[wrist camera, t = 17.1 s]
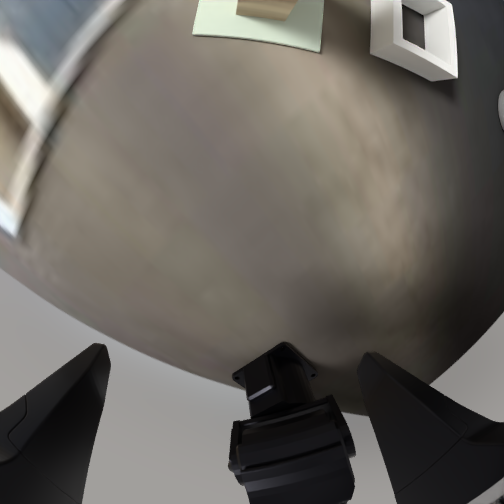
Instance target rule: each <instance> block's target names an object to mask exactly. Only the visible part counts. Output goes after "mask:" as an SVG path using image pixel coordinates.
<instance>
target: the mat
mask: <svg viewBox="0 0 504 504" xmlns="http://www.w3.org/2000/svg"><path fill="white" fill-rule="evenodd" d="M237 2H238V0H200V1H199V5H198V9H197V14H196V18H195V23H194V28H193V33H192V35H198V36H217V37H230V38H240V39H248V40H256V41H263V42H269V43H275V44H281V45H286V46H291V47H296V48H300V49H305V50H309V51H313V52H317V53H319V52H320V44H321V33H322V22H323V9H324V0H298V1H297V3H296V4H295V6H294V8H293V9H292V11H291V12H290V14H289V16H288V17H287V19H286V21H280V20H274V19H268V18H261V17H254V16H245V15H236V9H237Z"/></svg>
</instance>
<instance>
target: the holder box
mask: <svg viewBox="0 0 504 504" xmlns="http://www.w3.org/2000/svg"><path fill="white" fill-rule="evenodd" d="M402 4H403V5H405V6H407V7H409V8H411V9H413V10H415V11H417V12H418V13H420V14H422V15H424V28H425V50H424V49H422V48H420V47H418V46H416V45H414V44H412V43H410V42H408V41H406V40H404V39H403V26H402ZM370 54H372V55H374V56H377V57H379V58H382V59H384V60H387V61H389V62H391V63H394V64H396V65H398V66H401V67H403V68H405V69H407V70H409V71H411V72H413V73H416V74H418V75H420V76H422V77H424V78H426V79H427V80H429V81H431V82H432V81H439V80H447V79H455V78H458V68H457V46H456V34H455V24H454V16H453V9H452V4H450V3H449V2H447V1H446V0H371V39H370Z"/></svg>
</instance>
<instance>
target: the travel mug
mask: <svg viewBox="0 0 504 504" xmlns="http://www.w3.org/2000/svg"><path fill="white" fill-rule="evenodd" d="M498 113H499V118H500V122H501V126H502V128H503V130H504V90H503V91H502V92H501V93H500V95H499V100H498Z"/></svg>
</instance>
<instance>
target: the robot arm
mask: <svg viewBox="0 0 504 504" xmlns="http://www.w3.org/2000/svg"><path fill="white" fill-rule="evenodd" d="M282 347H284V348H282ZM110 368H111V363H110V358H109V354H108V350H107V347H106V345H104V344H99V343H94V344H92V345H91V346H89V347H88V348H87V349H85V350H84V351H82V352H81V353H80V354H79V355H77V356H76V357H74V358H73V359H72V360H70V361H69V362H68V363H66V364H65V365H63V366H62V367H61V368H59V369H58V370H57V371H55V372H54V373H53V374H51V375H50V376H49V377H47V378H46V379H45V380H43V381H42V382H41V383H39V384H38V385H37V386H36V387H34V388H33V389H32V390H30V391H29V392H27V393H26V395H24V396H22V397H21V398H20V399H18V400H17V401H15V402H14V403H13V404H11V405H10V406H9V407H7V408H6V409H4V410H2V411H1V412H0V504H82V499H83V494H84V488H85V482H86V477H87V472H88V467H89V463H90V458H91V454H92V450H93V445H94V441H95V437H96V433H97V429H98V426H99V422H100V418H101V415H102V411H103V407H104V402H105V396H106V390H107V385H108V379H109V374H110ZM357 374H358V378H359V382H360V386H361V390H362V394H363V398H364V403H365V406H366V409H367V412H368V415H369V418H370V421H371V424H372V426H373V429H374V432H375V435H376V438H377V441H378V444H379V447H380V450H381V453H382V456H383V459H384V462H385V465H386V468H387V472H388V475H389V478H390V481H391V484H392V488H393V491H394V494H395V498H396V502H397V504H504V422H495V421H492V420H490V419H488V418H486V417H484V416H482V415H480V414H478V413H476V412H474V411H472V410H470V409H467V408H466V407H464V406H462V405H460V404H458V403H457V402H455V401H453V400H452V399H450V398H448V397H447V396H444V394H442V393H440V392H439V391H437V390H436V389H434V388H432V387H431V386H429V385H428V384H426V383H424V382H423V381H421V380H420V379H418V378H417V377H415V376H413V375H412V374H410V373H409V372H407V371H405V370H404V369H402V368H401V367H399V366H398V365H396V364H394V363H393V362H391V361H390V360H388V359H387V358H385V357H384V356H382V355H380V354H379V353H377V352H375V351H373V352H366V353H365V354H364V355H363V358H362V360H361V362H360V364H359V366H358V370H357ZM317 375H318V373H317V371H316V370H315V369H314V368H313V367H312V366H311V365H310V364H309V363H308V362H307V361H305V360H304V359H303V358H302V357H301V356H300V355H299V354H298V353H297V352H295V351H294V350H293V349H292V348H291V347H290V346H289V345H288V344H287V343H284V342H283V343H280V344H278V345H277V346H275V347H274V348H272V349H271V350H269V351H267V352H266V353H264V354H263V355H261V356H260V357H258V358H257V359H255V360H254V361H252V362H250V363H249V364H247V365H246V366H244V367H242V368H241V369H239V370H238V371H236V372H234V373H233V374H232V379H233V380H234V381H235V382H237V383H238V384H240V385H241V386H243V387H244V388H246V396H247V400H248V401H249V409H250V416H251V419H247V420H243V421H240V420H239V421H234V422H233V429H232V431H231V442H230V453H229V463H228V468H229V470H230V471H232V472H233V473H234V474H235V477H236V479H237V480H238V482H239V483H240V485H242V486H244V485H245V488H246V491H247V494H248V498H249V502H250V504H347V501H348V500H351V498H352V495H353V492H354V488H355V485H354V482H355V478H354V475H353V471H352V468H351V464H350V461H349V458H352V457H355V456H356V451H355V446H354V442H353V439H352V436H351V433H350V430H349V427H348V425H347V423H346V421H345V419H344V417H343V415H342V413H341V411H340V409H339V407H338V405H337V403H336V401H335V399H334V397H333V395H332V394H331V395H328V396H326V397H325V398H323V399H320V400H317V401H315V398H314V395H313V393H312V390H311V387H310V384H309V381H311V380H312V379H314V378H315V377H317ZM237 376H239V377H237Z"/></svg>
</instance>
